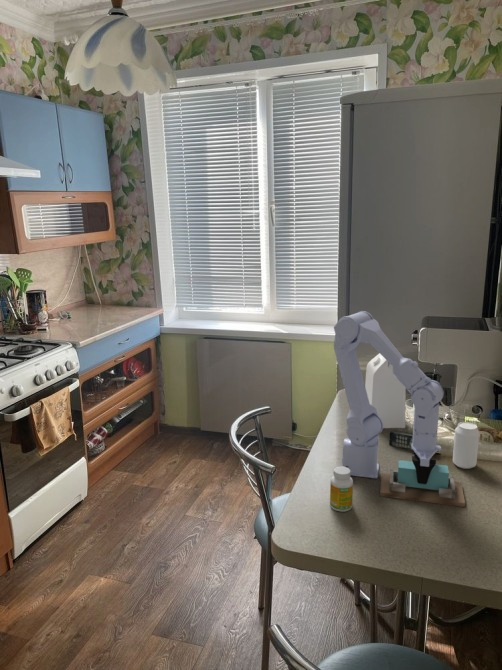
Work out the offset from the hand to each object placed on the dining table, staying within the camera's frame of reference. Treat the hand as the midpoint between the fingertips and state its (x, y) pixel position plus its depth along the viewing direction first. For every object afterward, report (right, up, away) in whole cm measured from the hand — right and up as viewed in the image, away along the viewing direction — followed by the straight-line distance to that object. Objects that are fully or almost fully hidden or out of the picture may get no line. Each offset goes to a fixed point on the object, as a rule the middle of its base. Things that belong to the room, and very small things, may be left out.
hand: (421, 478), depth 132 cm
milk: (+1, +7, +44) cm, 45 cm away
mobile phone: (+5, +2, +23) cm, 24 cm away
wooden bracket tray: (0, -3, +1) cm, 3 cm away
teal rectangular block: (0, -2, 0) cm, 2 cm away
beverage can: (+16, 0, +13) cm, 21 cm away
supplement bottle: (-22, -5, -5) cm, 23 cm away
